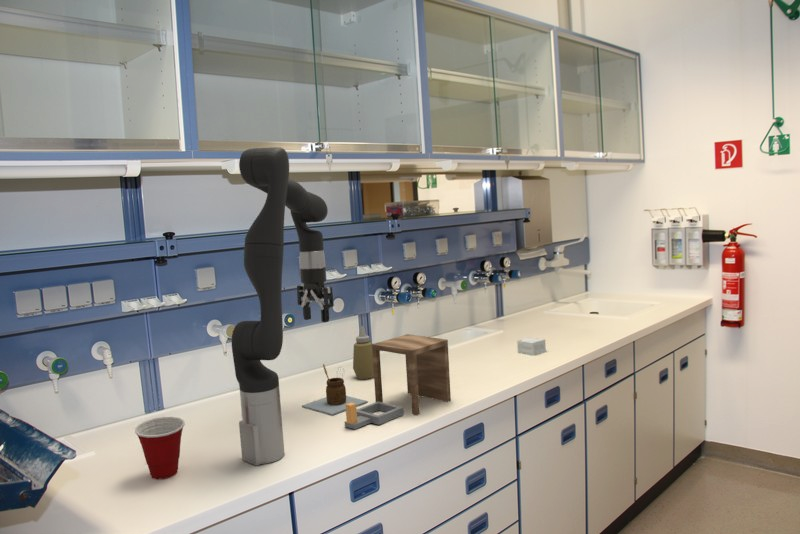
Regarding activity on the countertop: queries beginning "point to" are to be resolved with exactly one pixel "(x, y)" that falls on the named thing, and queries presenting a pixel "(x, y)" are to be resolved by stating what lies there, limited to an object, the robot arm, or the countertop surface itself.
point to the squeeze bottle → (363, 356)
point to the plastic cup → (161, 445)
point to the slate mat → (332, 410)
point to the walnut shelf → (417, 367)
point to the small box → (531, 346)
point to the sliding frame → (365, 417)
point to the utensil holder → (335, 390)
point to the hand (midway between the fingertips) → (316, 320)
